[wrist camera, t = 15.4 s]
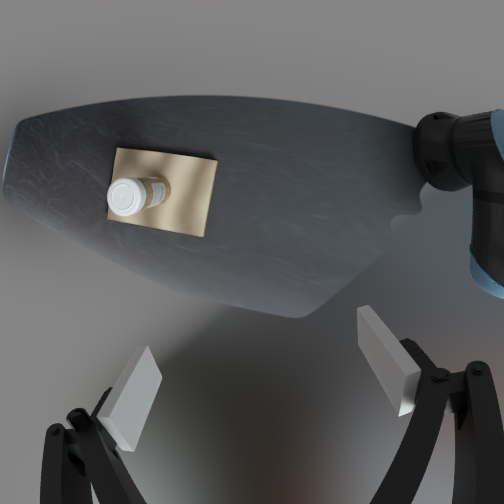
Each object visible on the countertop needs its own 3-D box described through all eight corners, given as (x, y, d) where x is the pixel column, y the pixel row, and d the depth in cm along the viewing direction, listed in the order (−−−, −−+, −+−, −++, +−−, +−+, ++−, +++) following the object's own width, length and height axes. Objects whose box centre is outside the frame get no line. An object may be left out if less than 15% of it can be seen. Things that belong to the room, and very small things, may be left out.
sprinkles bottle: (154, 170, 41) (116, 170, 28) (177, 185, 42) (147, 189, 29) (140, 195, 42) (99, 204, 29) (163, 210, 43) (129, 224, 30)
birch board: (217, 161, 42) (216, 160, 41) (204, 235, 45) (202, 237, 44) (120, 148, 41) (117, 147, 40) (111, 217, 44) (107, 218, 43)
